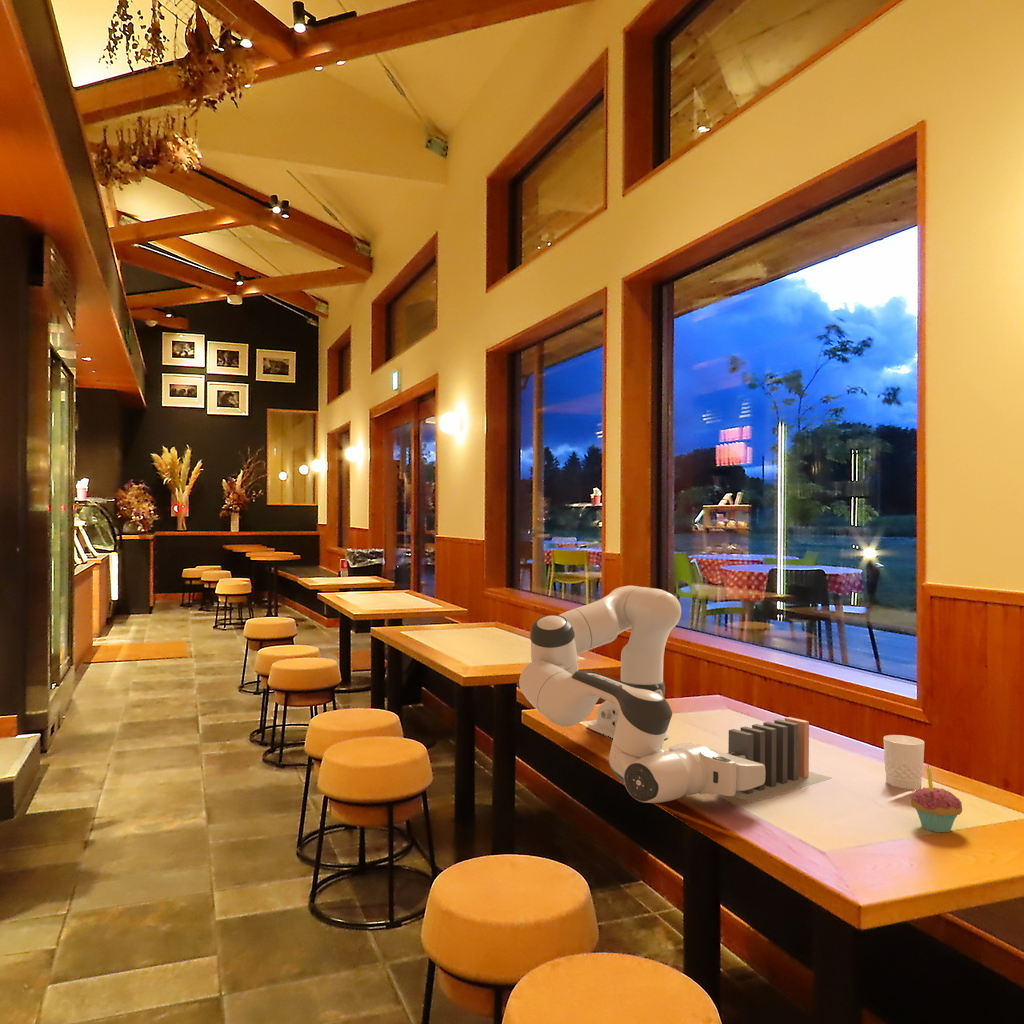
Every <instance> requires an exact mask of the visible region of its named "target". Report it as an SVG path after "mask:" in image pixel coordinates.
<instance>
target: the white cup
mask: <svg viewBox="0 0 1024 1024" xmlns="http://www.w3.org/2000/svg"><path fill="white" fill-rule="evenodd" d="M883 755H884V756H883V757H884V758H883V759H884V770H885V782H886V783H887V784H888V785H889V786H892V787H896V788H899V789H907V790H908V792H915V790H919V789H922V783H923V782H922V780H923V778H922V777H923V774H924V773H923V772H924V771H923V770H924V757H925V741H924V740H923V739H920V738H917V737H915V736H914V737H913V736H909V735H902V734H899V735H898V734H888V735H884V736H883ZM909 789H910V790H909Z"/></svg>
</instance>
